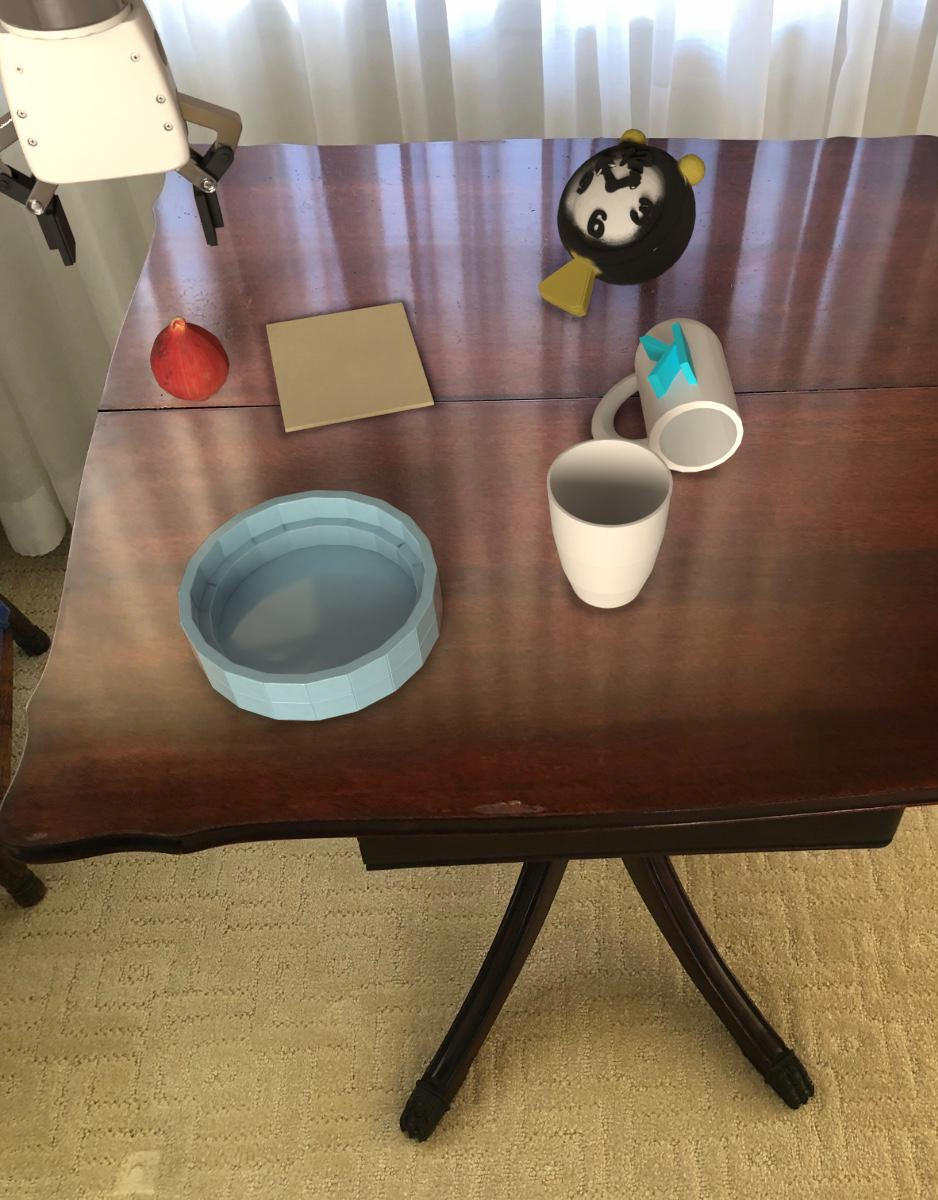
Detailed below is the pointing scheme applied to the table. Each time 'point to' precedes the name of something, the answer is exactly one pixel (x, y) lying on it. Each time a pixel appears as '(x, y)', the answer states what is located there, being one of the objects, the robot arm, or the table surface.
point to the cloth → (346, 366)
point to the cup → (608, 516)
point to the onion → (189, 361)
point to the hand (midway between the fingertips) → (142, 245)
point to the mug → (679, 397)
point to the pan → (312, 604)
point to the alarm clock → (623, 219)
